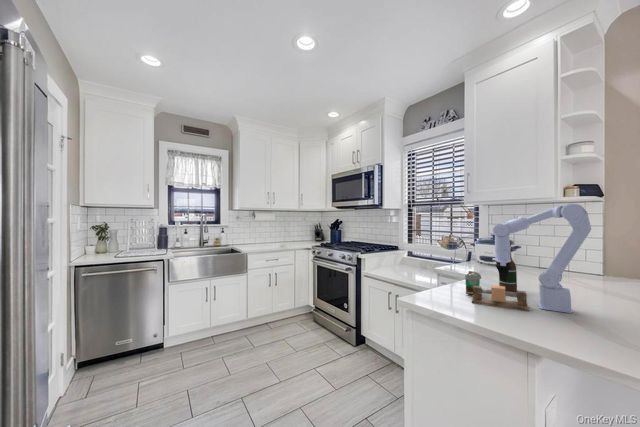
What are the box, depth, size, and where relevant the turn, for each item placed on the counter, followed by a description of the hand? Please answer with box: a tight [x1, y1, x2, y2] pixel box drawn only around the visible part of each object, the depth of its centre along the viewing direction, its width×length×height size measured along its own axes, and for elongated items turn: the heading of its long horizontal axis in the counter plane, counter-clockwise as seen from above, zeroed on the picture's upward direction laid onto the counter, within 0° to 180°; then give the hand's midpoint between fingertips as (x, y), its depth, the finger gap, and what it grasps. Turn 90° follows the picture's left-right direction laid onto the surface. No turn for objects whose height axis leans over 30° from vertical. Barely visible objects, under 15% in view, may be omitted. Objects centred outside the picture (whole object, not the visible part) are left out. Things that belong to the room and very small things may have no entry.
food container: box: [464, 270, 482, 296], centre depth 129 cm, size 12×6×10 cm, turn 143°
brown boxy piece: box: [471, 285, 530, 312], centre depth 113 cm, size 20×8×6 cm, turn 55°
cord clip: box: [490, 284, 507, 302], centre depth 113 cm, size 5×5×6 cm
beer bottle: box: [498, 244, 518, 293], centre depth 133 cm, size 8×8×24 cm
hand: (503, 278), depth 120 cm, fingers open, 7 cm apart
